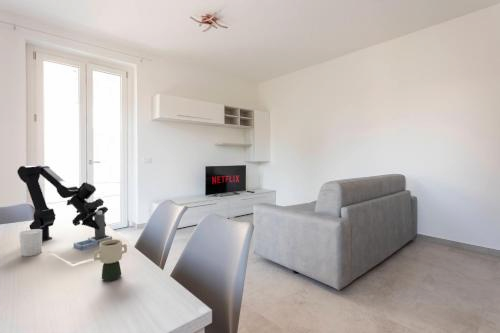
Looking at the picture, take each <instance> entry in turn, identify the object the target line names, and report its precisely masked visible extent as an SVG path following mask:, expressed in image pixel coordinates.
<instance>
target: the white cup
mask: <svg viewBox="0 0 500 333" xmlns="http://www.w3.org/2000/svg"><path fill="white" fill-rule="evenodd" d="M18 235H19V236H18V237H19V244H20V250H21V256H22V257H31V256H36V255H39V254H40V253H42V246H43V245H42V244H43V241H42V230H41V229H32V230H31V229H28V230H23V231H21V232H19V233H18Z"/></svg>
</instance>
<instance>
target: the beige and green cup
mask: <svg viewBox="0 0 500 333" xmlns="http://www.w3.org/2000/svg"><path fill="white" fill-rule="evenodd" d="M122 241H123V240H121V239H112V240H107V241H104V242H101V243H99V245H98V247H99V249H97V250H95V251H93V260H94V261H100V263H102V270H101V280H103V281H115V280H118V279H119V278H120V277H121V276H122V271H121V270H122V269H121V264H120V260H122V258H123V255H124V254H127V252H128V246H127V243H124V244H123V242H122ZM98 254H99V256H98Z"/></svg>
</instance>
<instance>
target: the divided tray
mask: <svg viewBox="0 0 500 333" xmlns="http://www.w3.org/2000/svg"><path fill="white" fill-rule="evenodd" d="M107 240H113V236H111V235H109V234H106V233H105V238H103V239H99V240H95V235H94V236H91V237H88V238H87V239H84V240H81V241H78V242H73V248H75V249H77V250H80V251H83V250H87V249H91V248H94V247H99V244H100V243H101V242H104V241H107Z"/></svg>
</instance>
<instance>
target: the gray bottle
mask: <svg viewBox="0 0 500 333" xmlns="http://www.w3.org/2000/svg"><path fill="white" fill-rule="evenodd" d="M96 211H97V210H96ZM105 214H106V213H105ZM105 214H102V211H101V210H100V211H97V215H94V217H93V220H94V221H95V222H96V224H97V225H98V226H99V228H100V229H99V230H97V229H94V236H95V240H99V239H103V238H105V234H106V227H105V223H106V220H105V219H106V218H105Z"/></svg>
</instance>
